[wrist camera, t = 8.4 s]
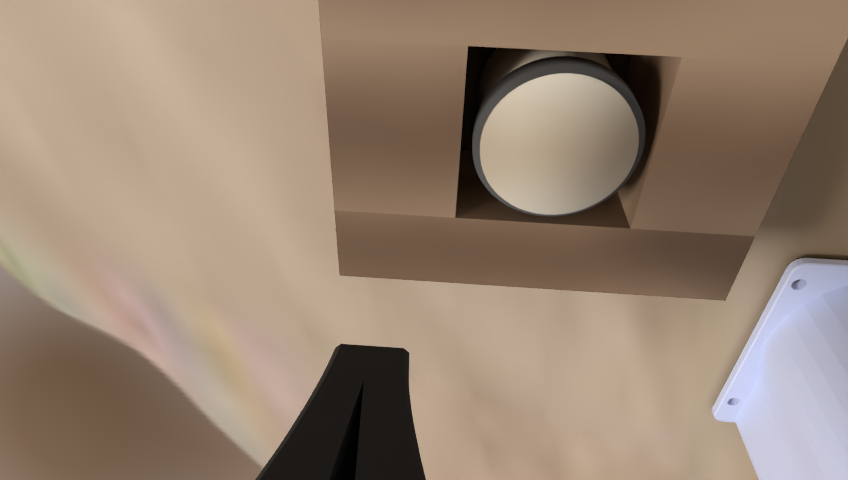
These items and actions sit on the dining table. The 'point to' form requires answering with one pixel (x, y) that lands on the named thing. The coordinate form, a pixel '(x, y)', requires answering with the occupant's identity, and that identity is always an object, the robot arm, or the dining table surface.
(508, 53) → the birch peg inner
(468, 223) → the walnut block
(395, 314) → the dining table surface
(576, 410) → the dining table surface
